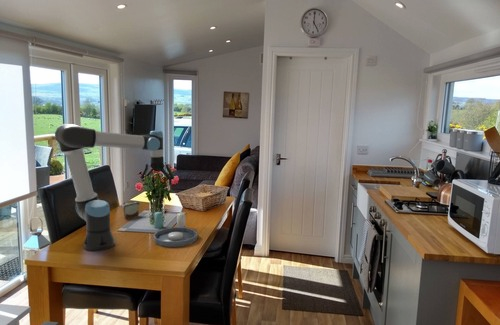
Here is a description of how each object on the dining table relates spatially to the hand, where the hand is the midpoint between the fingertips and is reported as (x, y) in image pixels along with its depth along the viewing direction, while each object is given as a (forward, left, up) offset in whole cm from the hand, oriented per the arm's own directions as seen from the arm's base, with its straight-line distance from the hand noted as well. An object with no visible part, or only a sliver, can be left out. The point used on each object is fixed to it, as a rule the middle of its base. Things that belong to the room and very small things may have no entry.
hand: (158, 190), depth 234 cm
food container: (+11, +24, -22) cm, 34 cm away
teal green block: (-6, -2, -22) cm, 23 cm away
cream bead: (-6, -16, -22) cm, 28 cm away
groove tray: (-24, -18, -22) cm, 37 cm away
